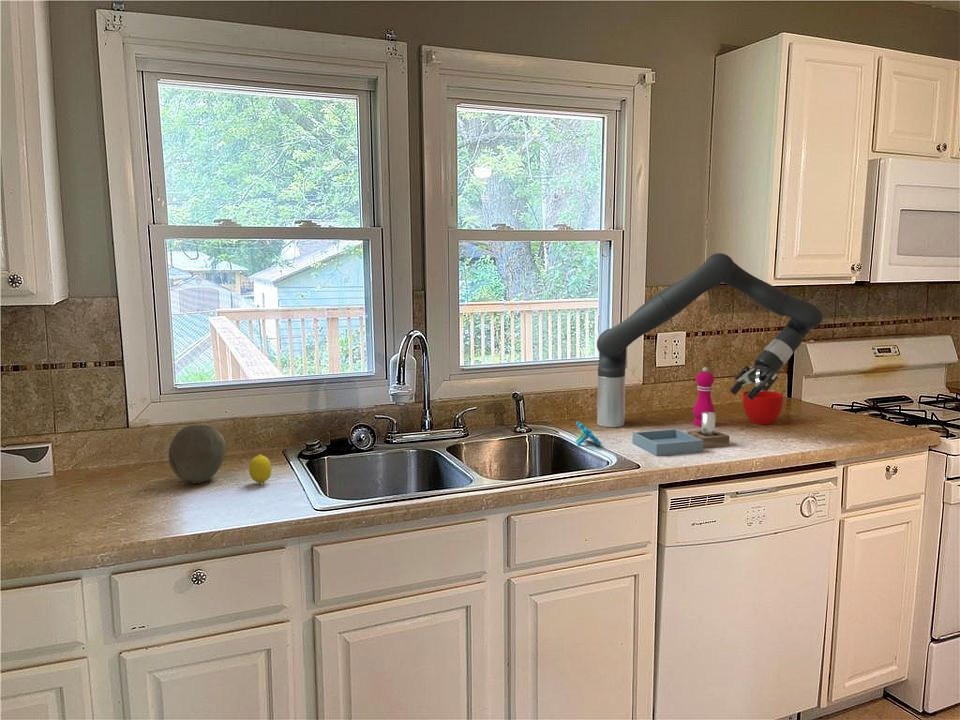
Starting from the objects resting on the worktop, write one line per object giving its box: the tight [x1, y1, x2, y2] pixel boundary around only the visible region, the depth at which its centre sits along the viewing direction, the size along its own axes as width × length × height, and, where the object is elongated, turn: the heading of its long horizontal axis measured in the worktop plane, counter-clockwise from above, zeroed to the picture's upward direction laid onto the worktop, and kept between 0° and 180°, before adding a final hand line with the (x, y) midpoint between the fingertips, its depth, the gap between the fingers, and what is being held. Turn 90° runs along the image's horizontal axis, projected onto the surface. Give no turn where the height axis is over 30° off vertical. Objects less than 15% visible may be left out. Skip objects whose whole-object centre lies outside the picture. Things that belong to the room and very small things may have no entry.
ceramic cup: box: [742, 390, 784, 426], centre depth 246 cm, size 13×17×10 cm
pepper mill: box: [692, 366, 716, 427], centre depth 242 cm, size 7×7×20 cm
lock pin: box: [700, 412, 717, 436], centre depth 219 cm, size 4×4×10 cm
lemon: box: [248, 454, 272, 484], centre depth 185 cm, size 6×6×8 cm
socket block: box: [686, 430, 730, 449], centre depth 219 cm, size 9×9×3 cm
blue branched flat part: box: [575, 421, 602, 447], centre depth 219 cm, size 11×6×10 cm
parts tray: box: [631, 428, 704, 457], centre depth 215 cm, size 15×15×4 cm
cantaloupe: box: [168, 424, 227, 484], centre depth 188 cm, size 14×14×15 cm
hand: (740, 395), depth 220 cm, fingers open, 8 cm apart
